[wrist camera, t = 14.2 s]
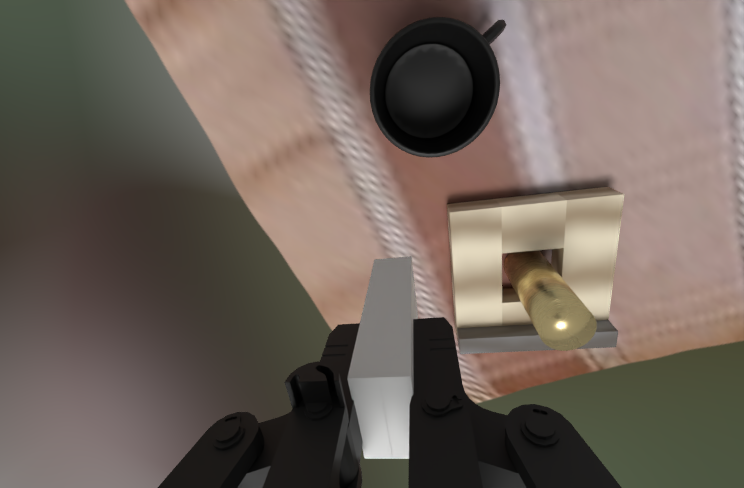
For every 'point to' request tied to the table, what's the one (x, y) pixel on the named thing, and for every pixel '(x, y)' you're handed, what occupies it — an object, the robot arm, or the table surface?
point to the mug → (436, 86)
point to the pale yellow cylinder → (549, 301)
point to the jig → (530, 233)
